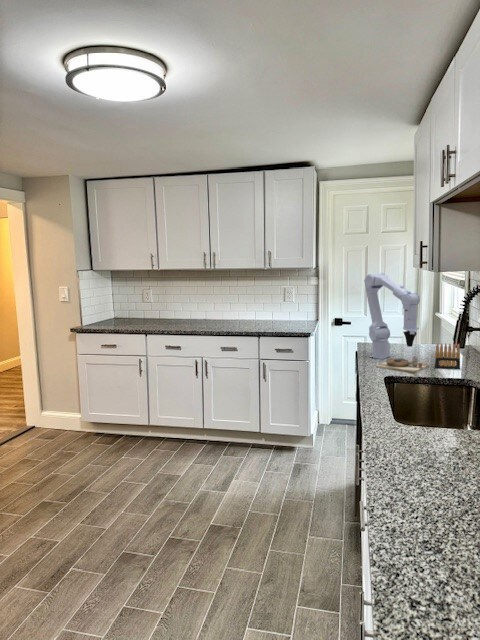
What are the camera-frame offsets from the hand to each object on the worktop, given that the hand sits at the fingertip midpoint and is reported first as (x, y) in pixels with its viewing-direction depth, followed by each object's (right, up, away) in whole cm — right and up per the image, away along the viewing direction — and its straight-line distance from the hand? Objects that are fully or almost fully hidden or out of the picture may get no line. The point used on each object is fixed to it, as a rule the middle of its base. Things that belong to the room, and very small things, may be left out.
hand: (409, 346), depth 215 cm
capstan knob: (-5, -9, -3) cm, 10 cm away
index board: (-4, -10, -2) cm, 11 cm away
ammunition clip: (+15, -10, -8) cm, 19 cm away
